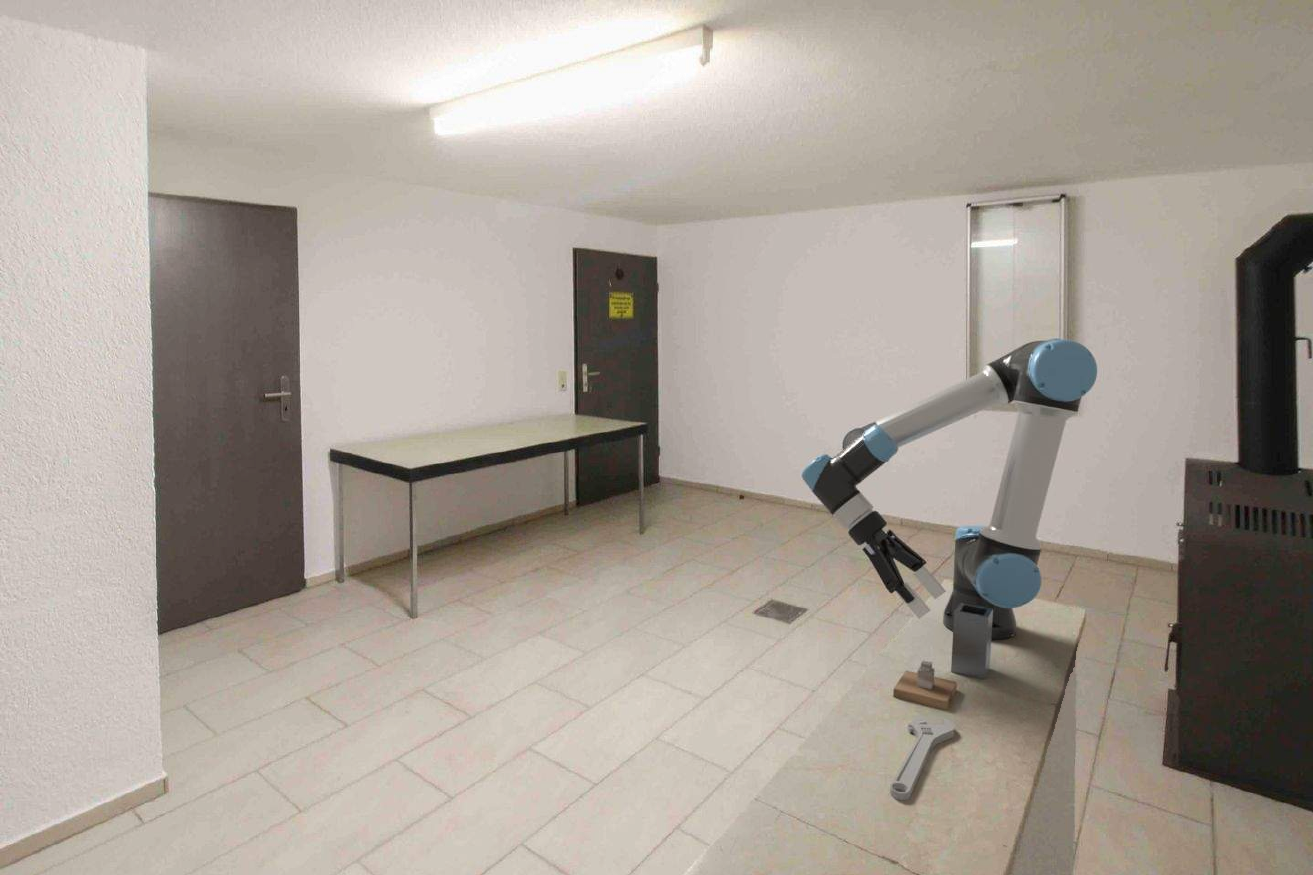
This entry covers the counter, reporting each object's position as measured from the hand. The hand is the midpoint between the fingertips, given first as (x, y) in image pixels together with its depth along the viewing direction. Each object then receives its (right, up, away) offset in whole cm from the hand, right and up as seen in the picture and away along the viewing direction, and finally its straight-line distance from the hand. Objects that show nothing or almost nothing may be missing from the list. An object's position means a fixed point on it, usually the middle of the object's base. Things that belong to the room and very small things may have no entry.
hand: (933, 604), depth 143 cm
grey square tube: (+6, -12, -2) cm, 14 cm away
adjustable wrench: (-15, -16, -33) cm, 39 cm away
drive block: (-6, -14, -12) cm, 19 cm away
